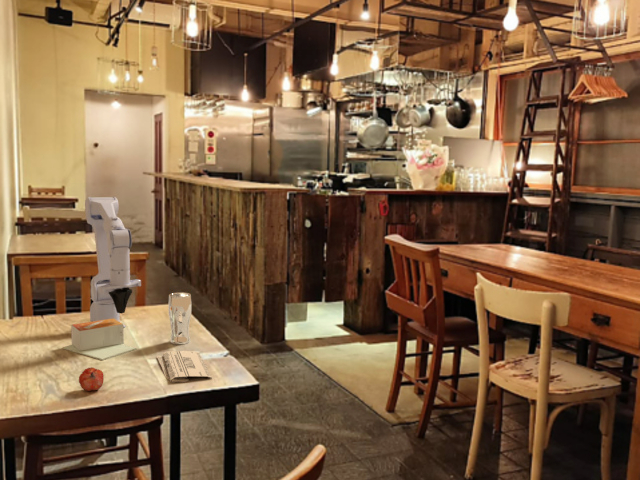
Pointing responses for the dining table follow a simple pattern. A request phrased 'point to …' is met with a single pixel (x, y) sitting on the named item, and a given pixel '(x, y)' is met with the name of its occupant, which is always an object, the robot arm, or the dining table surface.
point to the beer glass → (179, 317)
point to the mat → (102, 351)
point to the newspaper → (183, 365)
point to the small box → (97, 334)
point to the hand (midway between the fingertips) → (120, 312)
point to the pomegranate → (91, 379)
